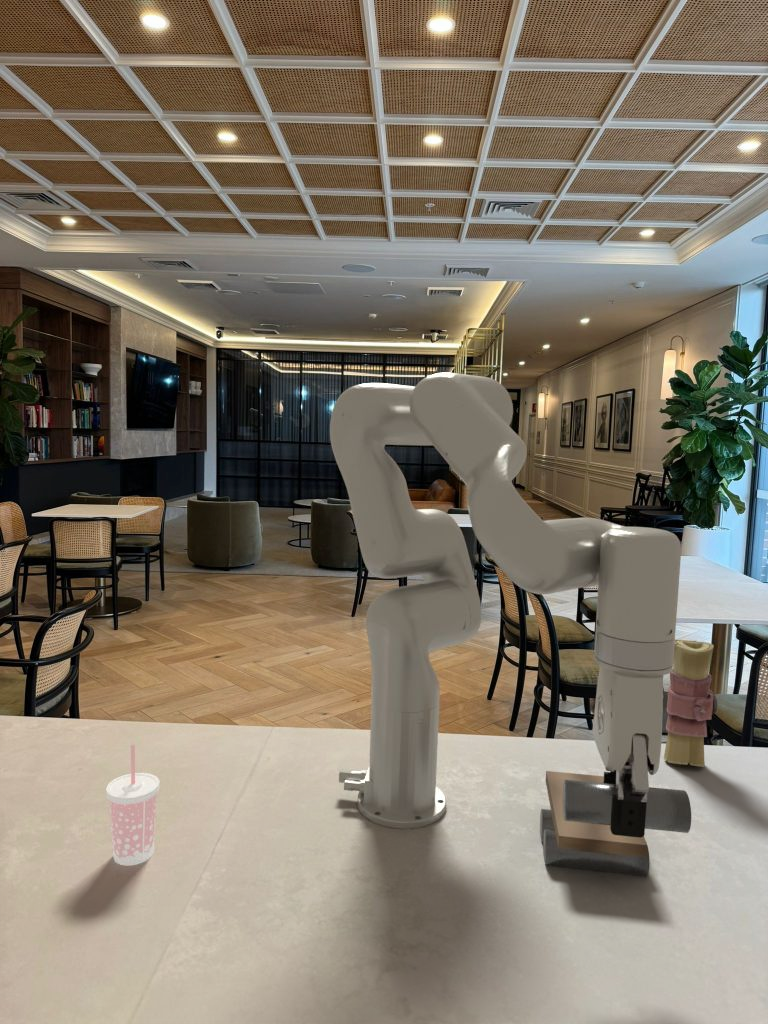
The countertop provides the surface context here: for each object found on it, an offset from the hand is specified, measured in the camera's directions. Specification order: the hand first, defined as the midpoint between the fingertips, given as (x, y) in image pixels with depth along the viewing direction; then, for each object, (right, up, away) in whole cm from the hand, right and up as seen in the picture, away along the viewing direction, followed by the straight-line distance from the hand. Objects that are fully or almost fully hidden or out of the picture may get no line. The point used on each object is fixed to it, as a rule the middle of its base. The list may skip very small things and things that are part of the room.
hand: (622, 820), depth 71 cm
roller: (0, +2, 0) cm, 2 cm away
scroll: (+25, -10, +42) cm, 50 cm away
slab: (+2, -7, +17) cm, 18 cm away
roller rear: (+2, -9, +18) cm, 21 cm away
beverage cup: (-55, -10, +13) cm, 58 cm away
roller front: (+1, -10, +13) cm, 17 cm away
